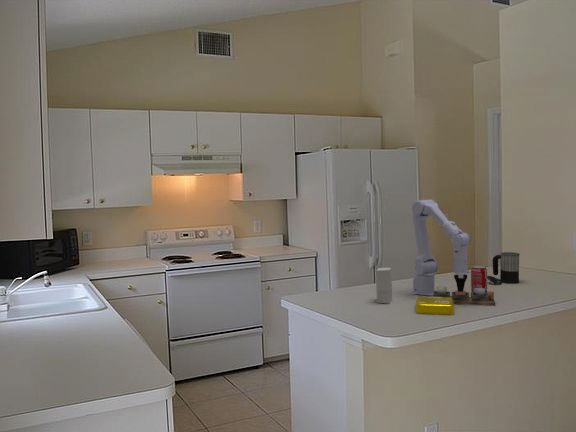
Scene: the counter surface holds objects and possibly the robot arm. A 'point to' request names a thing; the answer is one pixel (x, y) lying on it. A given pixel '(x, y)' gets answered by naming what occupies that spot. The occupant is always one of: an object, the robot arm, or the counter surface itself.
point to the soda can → (478, 277)
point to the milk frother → (506, 268)
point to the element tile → (434, 305)
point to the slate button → (479, 291)
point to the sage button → (441, 290)
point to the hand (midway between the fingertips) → (460, 291)
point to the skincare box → (384, 285)
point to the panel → (469, 298)
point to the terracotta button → (460, 293)
